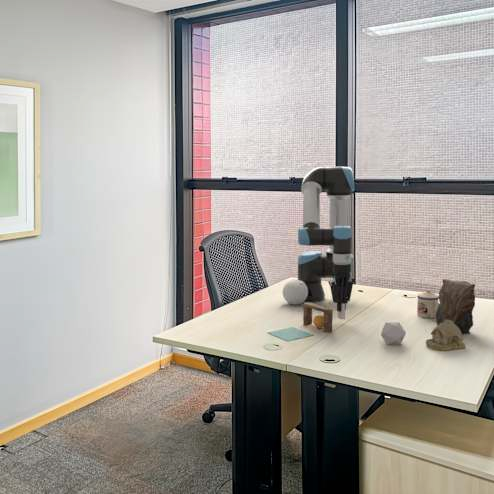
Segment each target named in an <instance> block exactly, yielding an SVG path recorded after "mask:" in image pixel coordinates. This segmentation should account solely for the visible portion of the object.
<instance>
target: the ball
mask: <svg viewBox="0 0 494 494" xmlns="http://www.w3.org/2000/svg"><path fill="white" fill-rule="evenodd" d="M312 325H314V327H315V328H317V329H323V315H322V314H317V315H315V316H314V317H313V318H312Z"/></svg>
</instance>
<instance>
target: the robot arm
mask: <svg viewBox="0 0 494 494" xmlns="http://www.w3.org/2000/svg"><path fill="white" fill-rule="evenodd" d="M353 173H354V172H353V169H352V168H351V167H349V166H318V167H315V168H313V169H311V170H310V171H309V172H308V173H307V174H306V175H305V176H304V178H303V179H302V182H301V185H300V186H301V194H302V195H303V198H302V200H303V201H302V227H300V228H298V229H297V230H298V231H297V242H298V245H300V246H308V247H309V246H324V247H325V246H328V248H327V249H326V251H325V252H326V253H325V254H323V252H322V251H320V250H311V251H306V252H301V253H300V254H299V255H298V256H297V257H298V258H297V264H296V265H297V280H300V281H303V282H304V283H305V284H306V286H307V288H308V295H307V298H306V300H305V301H304V303H307V302H310V303H314V302H321V301H322V302H323V301H324V300H325V298H326V297H325V296H326V294H325V292H324V291H325V290H324V287H323V284H322V279H331V280H329V281H328V284H329V286H330V292H331V297H332V302H333V303H335V304H336V311H337V318H338V319H340V320H345V319H346V309H347V305H348V304H349V302H350V300H351V296H352V290H353V286H354V283H355V279H356V278H354V277H352V276H351V275H352V270H353V265H354V264H353V263H354V254H352V239H353V237H352V236H353V232H352V231H353V229H352V227H351V226H350V225H348V224H349V223H348V220H349V219H348V218H349V217H348V215H349V211H348V210H349V209H348V208H349V198H350V197H351V196H352V193H354V191H355V189H356V188H355V179H354V174H353ZM322 192H326V196H327V197H328V199H329V227H321V211H320V210H321V208H320V207H321V205H320V203H321V202H320V200H321V198H320V197H321V193H322Z"/></svg>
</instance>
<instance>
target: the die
mask: <svg viewBox="0 0 494 494" xmlns="http://www.w3.org/2000/svg"><path fill="white" fill-rule="evenodd" d="M406 333H407V332H406V330H405V329H404V327H403V326H402V324H401V323H400V322H399V321H397V322H396V321H395V322H394V321H392V322H390V321H389V322H388V321H387V322H384V325H383V328H382V329H381V332H380V336H381V337H382V338H383V340H384V342H385V344H386V345H389V346H390V345H391V346H393V345H394V346H395V345H397V346H399V345H400V346H401V345H402V344H403V340H404V339H405V337H406Z"/></svg>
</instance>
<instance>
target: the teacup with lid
mask: <svg viewBox="0 0 494 494" xmlns="http://www.w3.org/2000/svg"><path fill="white" fill-rule="evenodd" d="M439 304H440V302H439V294H437V293H434V292H433V291H431V289H428V288H427V289H425V291H423V292H419V293H418V294H417V306H416V307H417V311H416V312H417V313H416V314H417V316H418V317H420V318H424V319H434V318H435V319H436V311H437V308H438V306H439Z"/></svg>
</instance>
